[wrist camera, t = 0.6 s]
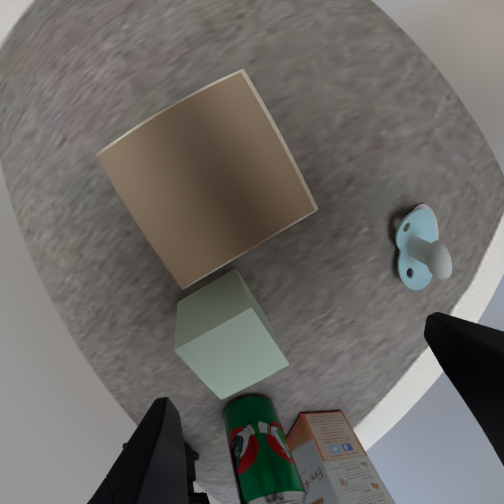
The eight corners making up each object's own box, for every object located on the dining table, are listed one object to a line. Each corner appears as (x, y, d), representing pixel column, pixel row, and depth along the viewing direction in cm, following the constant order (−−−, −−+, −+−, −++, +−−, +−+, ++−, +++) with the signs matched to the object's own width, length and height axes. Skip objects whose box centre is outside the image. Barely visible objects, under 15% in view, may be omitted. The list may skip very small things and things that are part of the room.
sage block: (213, 347, 22) (221, 399, 17) (177, 301, 21) (173, 349, 15) (267, 317, 22) (289, 364, 17) (235, 267, 21) (251, 307, 15)
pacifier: (429, 192, 22) (383, 211, 22) (482, 204, 17) (437, 228, 16) (434, 263, 25) (391, 287, 24) (479, 285, 19) (437, 317, 18)
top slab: (183, 268, 17) (181, 288, 15) (113, 157, 15) (96, 156, 12) (296, 201, 18) (314, 210, 15) (233, 86, 15) (241, 72, 12)
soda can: (223, 426, 26) (243, 527, 14) (221, 394, 24) (243, 509, 13) (271, 421, 26) (305, 515, 15) (275, 389, 25) (317, 494, 14)
